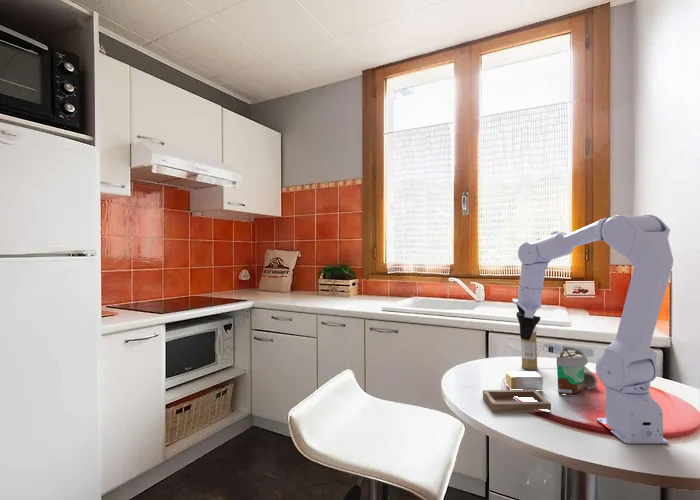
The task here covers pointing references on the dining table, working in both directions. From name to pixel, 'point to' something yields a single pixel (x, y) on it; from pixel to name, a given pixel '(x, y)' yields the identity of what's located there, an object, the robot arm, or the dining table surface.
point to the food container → (571, 371)
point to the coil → (589, 379)
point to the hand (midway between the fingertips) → (524, 333)
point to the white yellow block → (524, 380)
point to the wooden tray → (514, 401)
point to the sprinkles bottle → (529, 352)
